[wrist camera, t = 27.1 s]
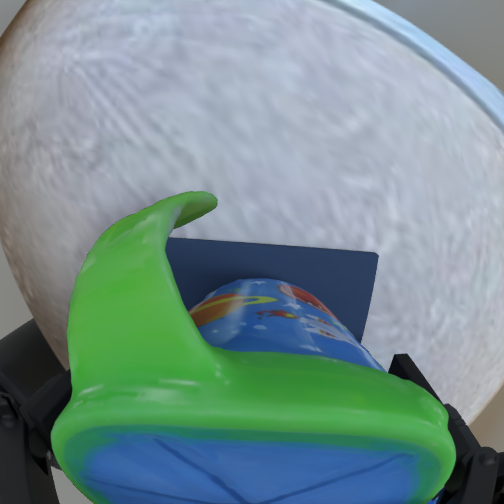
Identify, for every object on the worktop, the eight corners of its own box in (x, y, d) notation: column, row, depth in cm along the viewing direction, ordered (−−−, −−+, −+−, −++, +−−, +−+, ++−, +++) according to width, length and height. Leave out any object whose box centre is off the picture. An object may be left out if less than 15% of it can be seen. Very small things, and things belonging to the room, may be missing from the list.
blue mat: (171, 400, 16) (168, 405, 15) (158, 236, 14) (154, 238, 13) (335, 413, 16) (337, 419, 15) (375, 252, 13) (379, 254, 12)
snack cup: (364, 417, 15) (402, 542, 5) (213, 440, 16) (184, 561, 6) (335, 165, 12) (508, 114, 2) (124, 220, 13) (-56, 278, 3)
